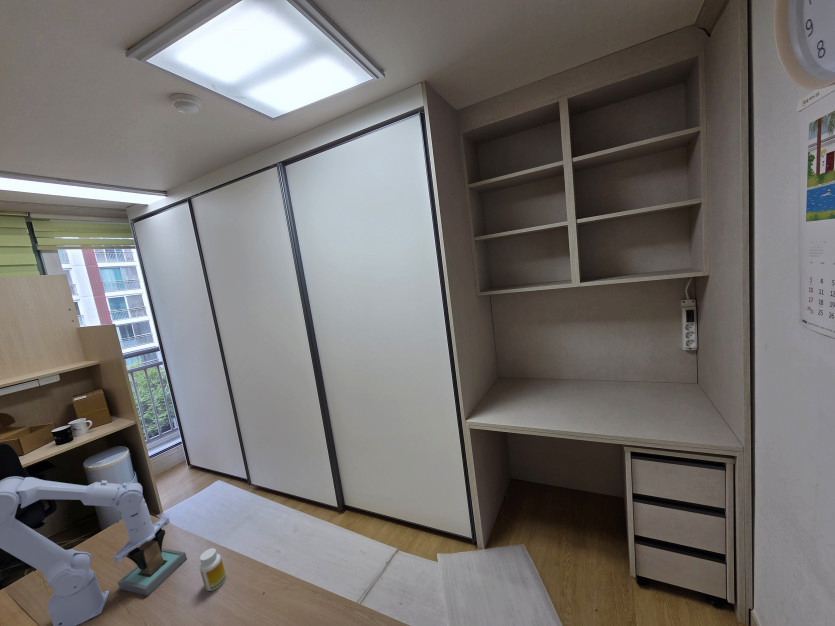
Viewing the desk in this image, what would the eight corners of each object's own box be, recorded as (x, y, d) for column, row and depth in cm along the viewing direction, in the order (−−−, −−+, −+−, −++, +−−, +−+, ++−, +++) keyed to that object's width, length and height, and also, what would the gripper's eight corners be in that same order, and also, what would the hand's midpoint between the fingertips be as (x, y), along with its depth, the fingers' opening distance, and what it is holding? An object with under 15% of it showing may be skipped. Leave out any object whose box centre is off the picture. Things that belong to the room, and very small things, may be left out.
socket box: (147, 596, 95) (145, 589, 95) (119, 589, 99) (117, 582, 99) (187, 559, 107) (185, 552, 106) (160, 554, 110) (158, 547, 110)
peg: (150, 575, 100) (143, 552, 99) (141, 573, 101) (134, 550, 100) (164, 563, 104) (157, 541, 103) (155, 561, 105) (148, 539, 104)
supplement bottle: (230, 573, 99) (222, 545, 98) (218, 591, 94) (209, 562, 92) (214, 574, 100) (206, 546, 98) (200, 591, 94) (192, 562, 93)
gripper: (120, 545, 92) (134, 586, 94) (171, 506, 106) (182, 543, 108) (103, 541, 94) (117, 582, 96) (156, 504, 108) (167, 540, 110)
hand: (150, 561), depth 102 cm, fingers closed on peg, 4 cm apart
